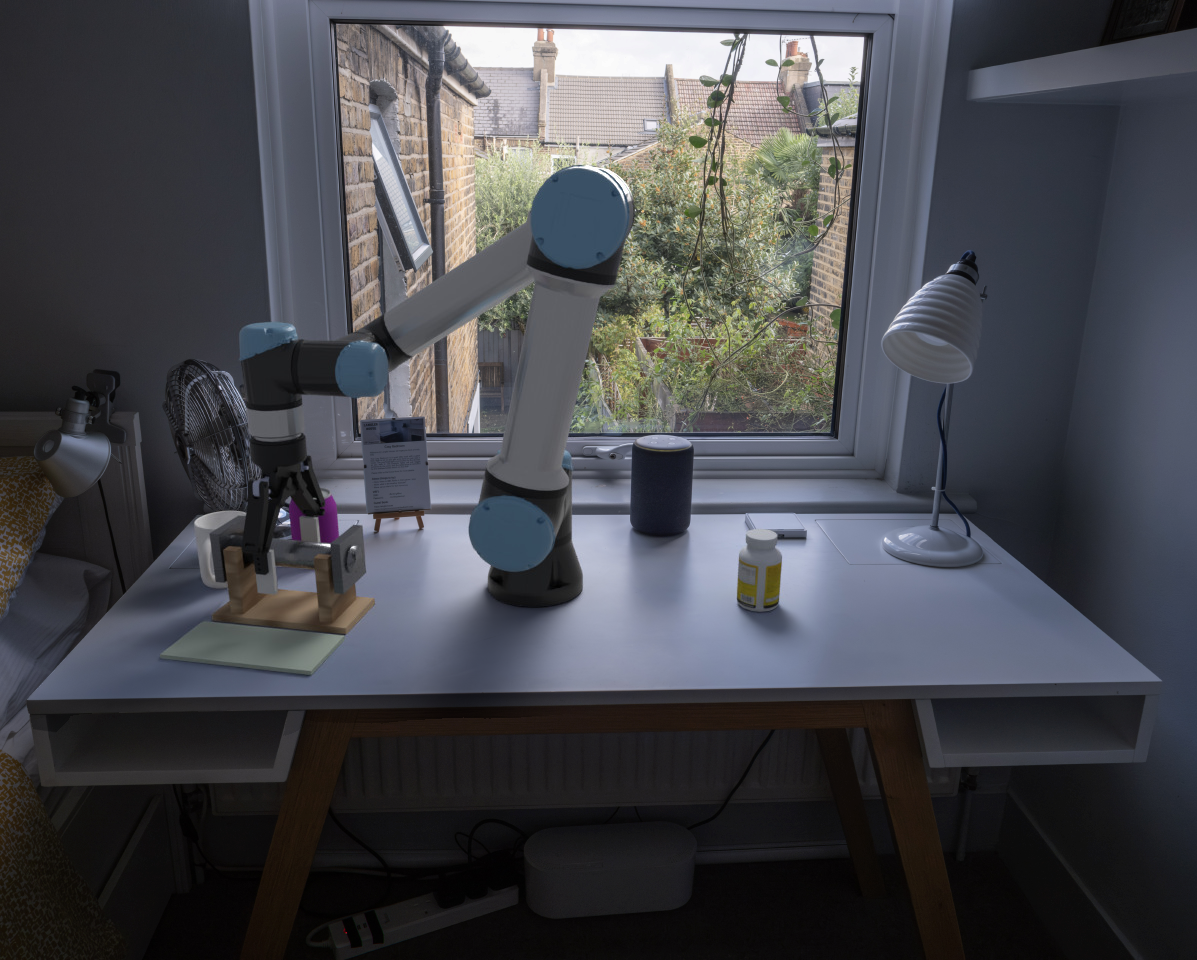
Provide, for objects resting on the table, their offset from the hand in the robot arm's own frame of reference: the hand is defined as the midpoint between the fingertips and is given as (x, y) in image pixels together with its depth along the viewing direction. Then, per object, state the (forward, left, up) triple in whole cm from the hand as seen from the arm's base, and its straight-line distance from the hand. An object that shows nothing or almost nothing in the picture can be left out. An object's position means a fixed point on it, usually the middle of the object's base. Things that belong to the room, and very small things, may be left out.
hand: (291, 574), depth 137 cm
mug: (+16, -7, -6) cm, 19 cm away
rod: (0, 0, -1) cm, 1 cm away
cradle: (0, 0, -6) cm, 6 cm away
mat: (0, +11, -6) cm, 13 cm away
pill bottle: (-68, -17, -6) cm, 70 cm away
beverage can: (+6, -19, -6) cm, 21 cm away
